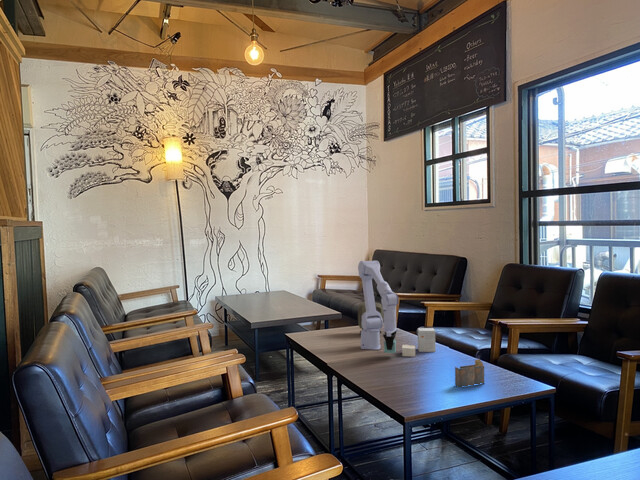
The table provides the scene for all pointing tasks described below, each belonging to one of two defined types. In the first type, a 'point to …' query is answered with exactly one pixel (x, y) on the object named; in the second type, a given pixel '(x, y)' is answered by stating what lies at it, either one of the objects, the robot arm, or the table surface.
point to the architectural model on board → (469, 374)
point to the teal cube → (392, 348)
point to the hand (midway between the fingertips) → (389, 348)
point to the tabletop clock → (363, 309)
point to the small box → (426, 340)
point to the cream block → (408, 350)
